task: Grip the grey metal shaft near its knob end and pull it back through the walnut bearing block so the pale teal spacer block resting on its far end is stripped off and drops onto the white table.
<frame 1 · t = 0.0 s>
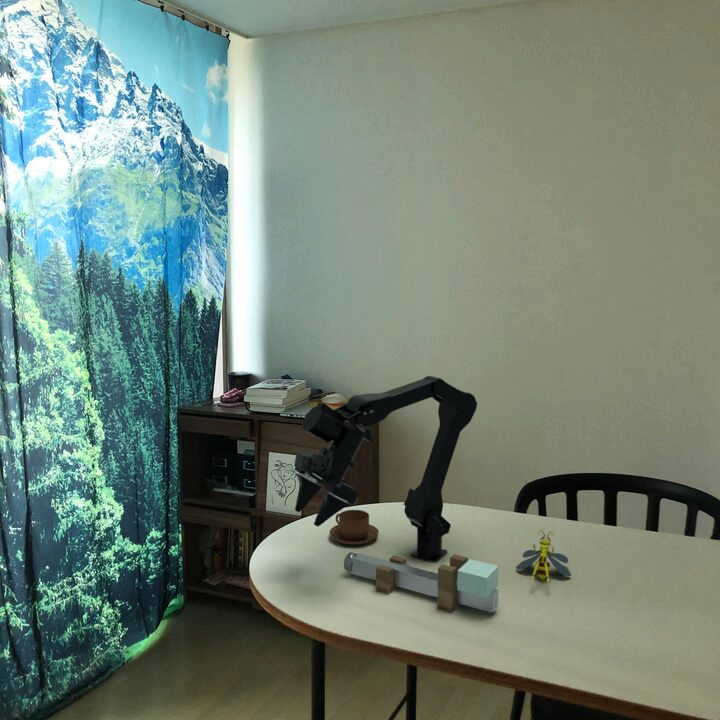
hand: (306, 518, 147), 15 cm above the table, tool tilted 35°, fingers open, 9 cm apart
shaft: (417, 580, 145), point 3 cm above the table, slide at 0.0 cm, touching spacer
cup and saucer: (354, 539, 174), on the table
toy: (542, 579, 152), on the table
bearing a: (452, 602, 142), on the table
spacer: (477, 587, 138), point 5 cm above the table, touching shaft
bearing b: (391, 585, 149), on the table
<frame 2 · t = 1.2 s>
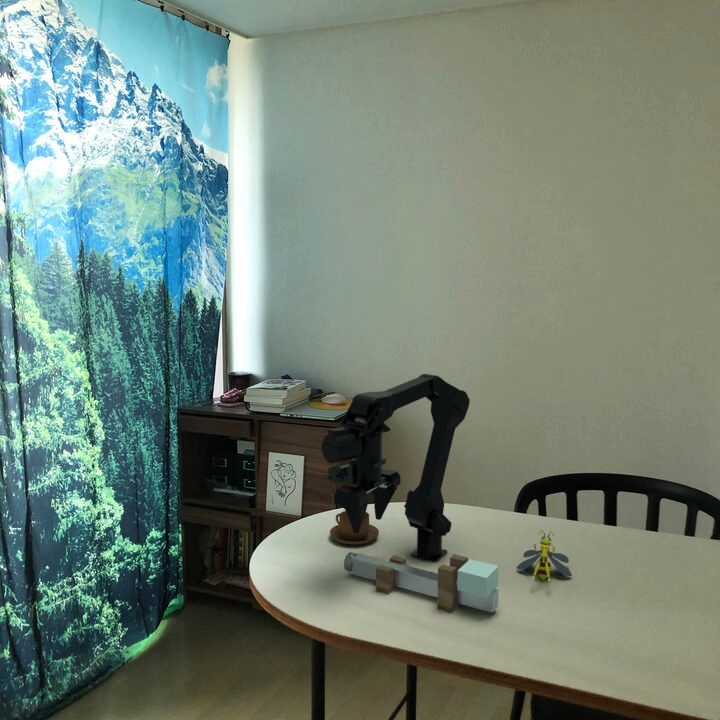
hand: (367, 526, 150), 12 cm above the table, tool pointing down, fingers open, 9 cm apart
nothing on the table moved.
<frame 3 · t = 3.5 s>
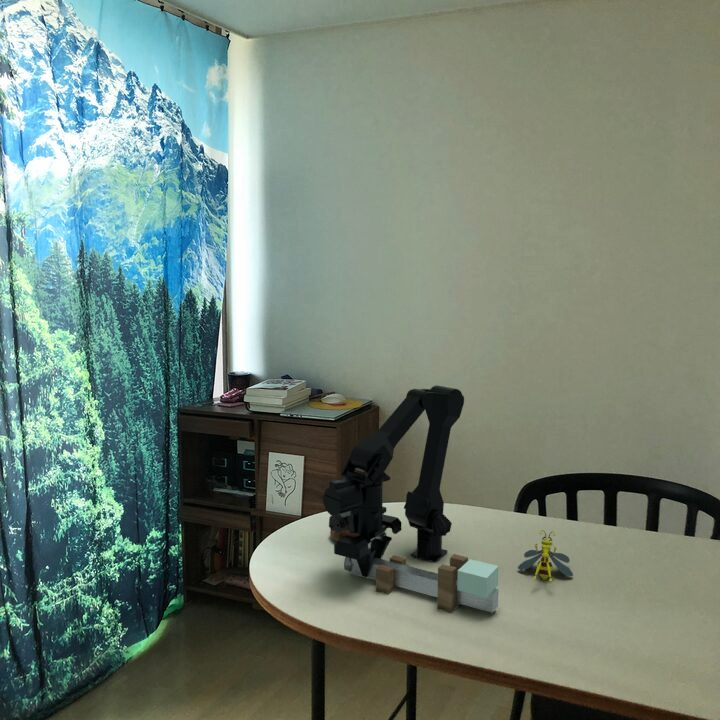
hand: (368, 573, 152), 1 cm above the table, tool pointing down, fingers closed on shaft, 3 cm apart
shaft: (417, 580, 145), point 3 cm above the table, slide at 0.0 cm, touching gripper, spacer
everything else where it was.
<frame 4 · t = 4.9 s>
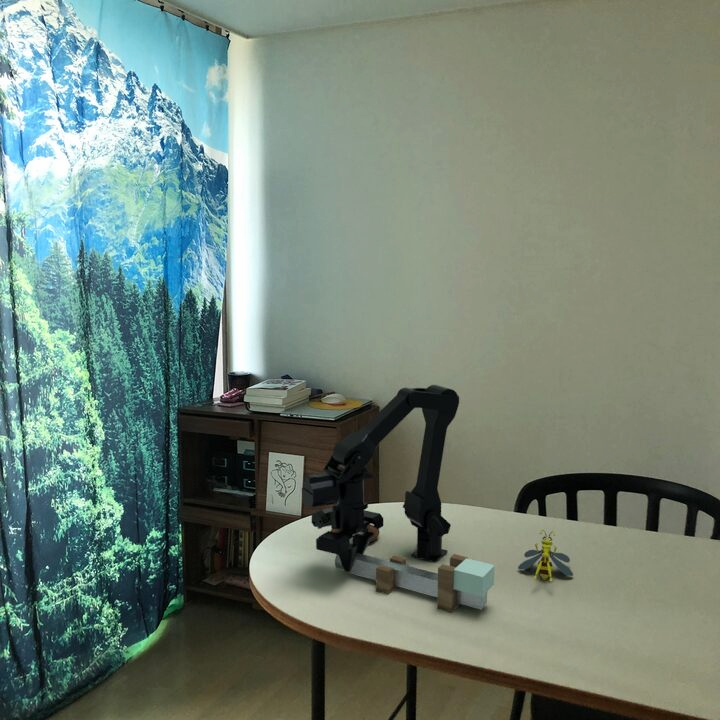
hand: (351, 568, 154), 1 cm above the table, tool pointing down, fingers closed on shaft, 3 cm apart
shaft: (407, 577, 146), point 3 cm above the table, slide at 2.3 cm, touching gripper, spacer
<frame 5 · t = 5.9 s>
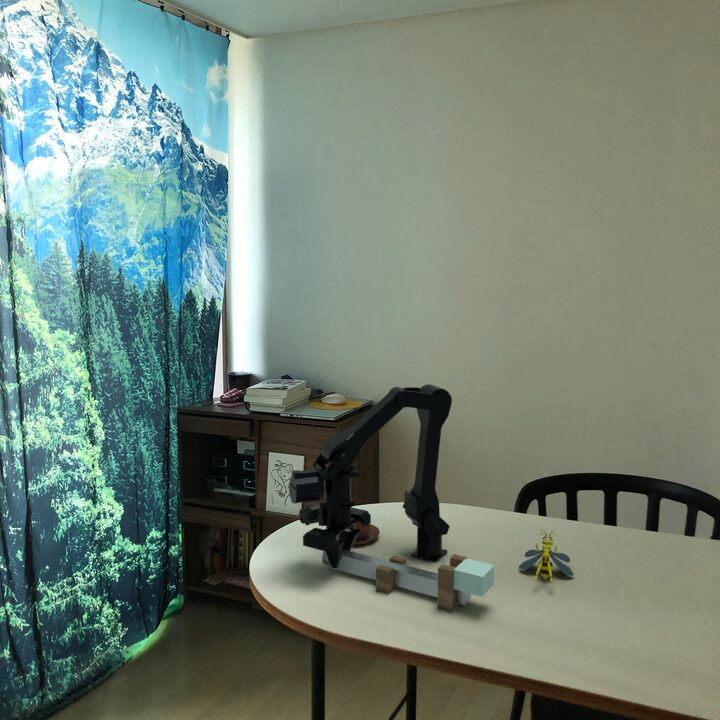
hand: (338, 565, 156), 1 cm above the table, tool pointing down, fingers closed on shaft, 3 cm apart
shaft: (393, 573, 148), point 3 cm above the table, slide at 5.7 cm, touching gripper, spacer
spacer: (473, 586, 139), point 5 cm above the table, touching bearing a, shaft
everything else where it was.
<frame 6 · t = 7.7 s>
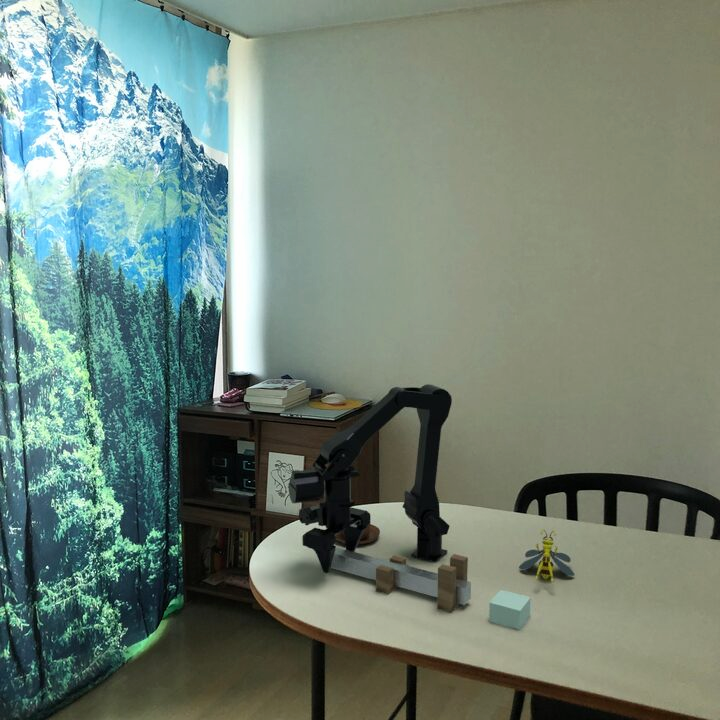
hand: (338, 565, 156), 1 cm above the table, tool pointing down, fingers open, 9 cm apart
shaft: (393, 573, 148), point 3 cm above the table, slide at 5.7 cm
spacer: (510, 600, 135), point 4 cm above the table, tilted 180°
everything else where it was.
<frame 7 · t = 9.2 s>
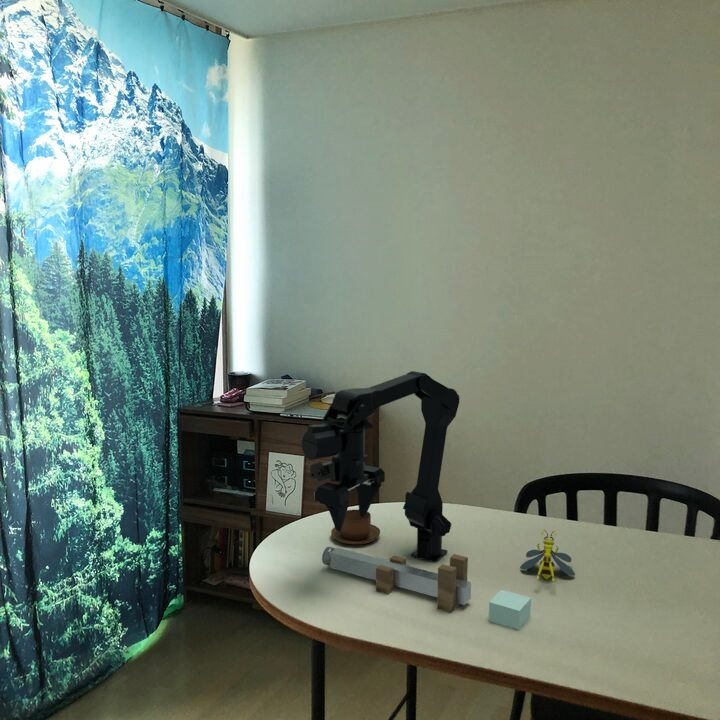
hand: (350, 523, 149), 13 cm above the table, tool pointing down, fingers open, 9 cm apart
nothing on the table moved.
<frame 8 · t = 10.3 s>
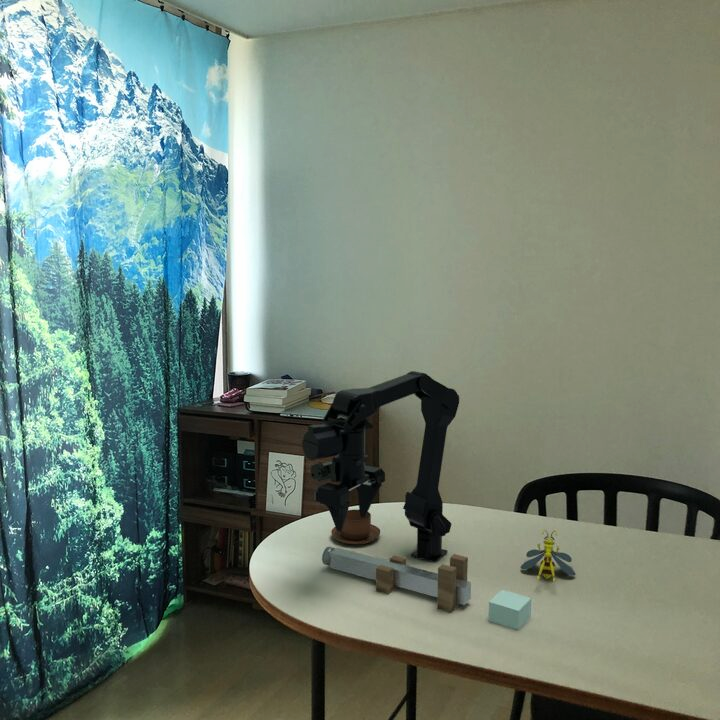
hand: (351, 523, 149), 13 cm above the table, tool pointing down, fingers open, 9 cm apart
at the end: spacer touching table; spacer point 3.8 cm above the table; shaft slide at 5.7 cm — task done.
